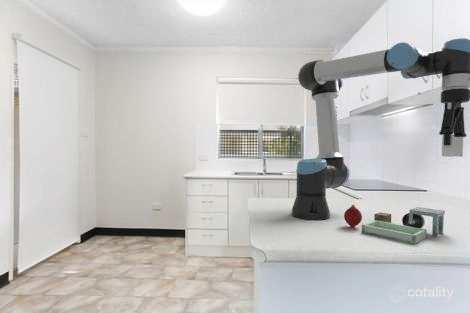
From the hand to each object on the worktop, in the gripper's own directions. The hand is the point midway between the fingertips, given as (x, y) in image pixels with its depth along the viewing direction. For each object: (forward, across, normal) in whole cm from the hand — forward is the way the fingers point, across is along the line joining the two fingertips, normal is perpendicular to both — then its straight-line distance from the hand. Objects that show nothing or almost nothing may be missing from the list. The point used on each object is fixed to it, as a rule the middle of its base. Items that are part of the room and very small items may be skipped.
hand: (452, 156), depth 94 cm
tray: (+26, -14, +12) cm, 32 cm away
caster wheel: (+26, -2, +7) cm, 26 cm away
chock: (+26, -2, +20) cm, 33 cm away
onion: (+26, -15, +25) cm, 39 cm away
